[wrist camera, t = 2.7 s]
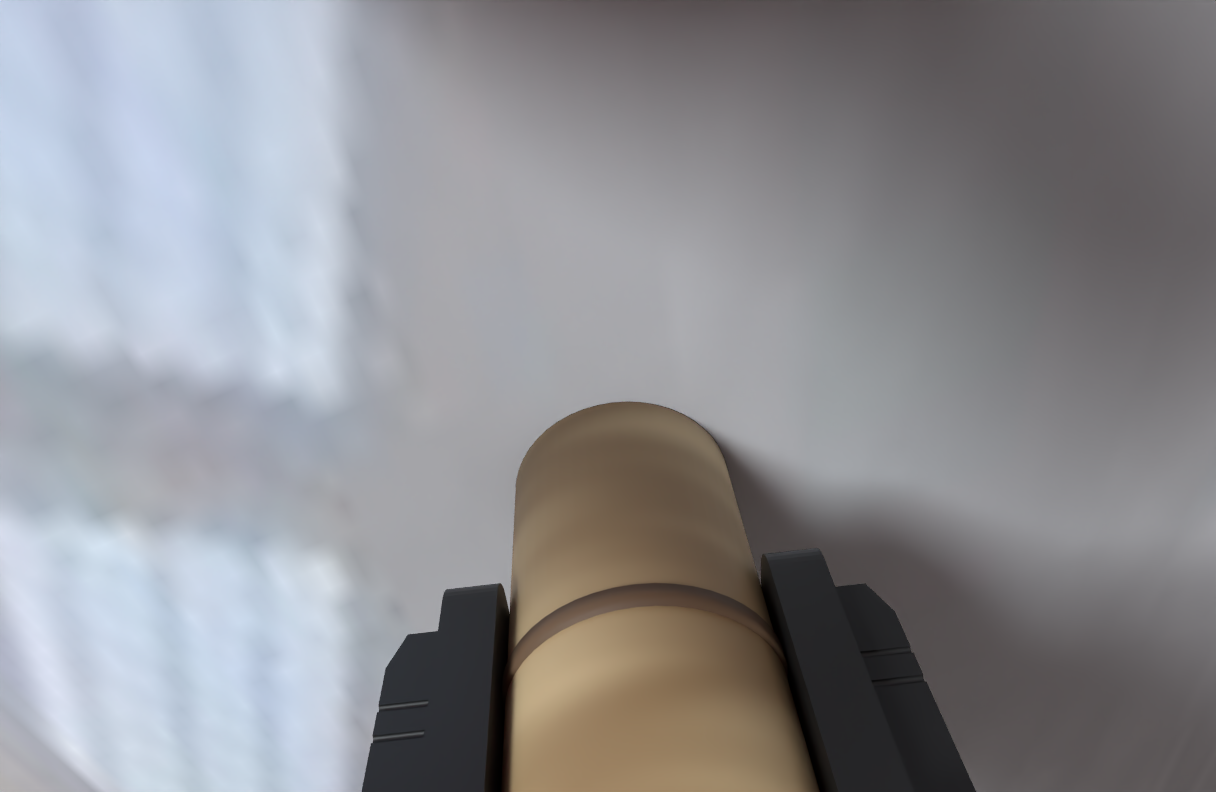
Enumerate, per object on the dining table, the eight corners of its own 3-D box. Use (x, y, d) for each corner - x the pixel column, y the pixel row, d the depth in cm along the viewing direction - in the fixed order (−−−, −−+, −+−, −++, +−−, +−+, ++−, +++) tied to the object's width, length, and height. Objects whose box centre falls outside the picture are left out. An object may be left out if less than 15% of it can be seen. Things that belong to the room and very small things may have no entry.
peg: (728, 386, 13) (1060, 1383, 5) (733, 560, 15) (975, 1492, 6) (496, 413, 13) (401, 1455, 5) (529, 583, 15) (506, 1545, 6)
